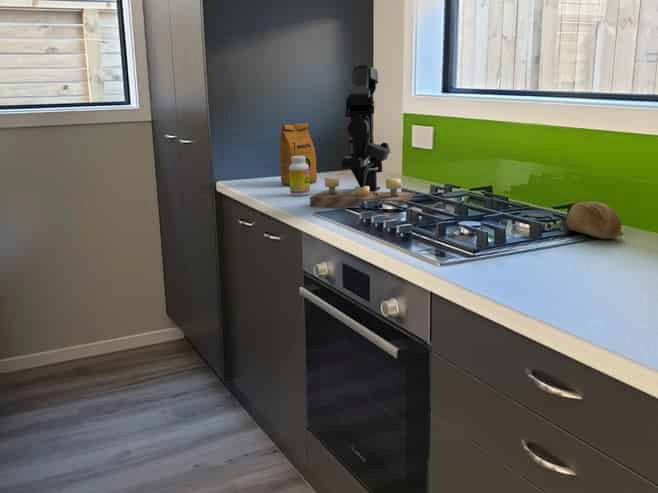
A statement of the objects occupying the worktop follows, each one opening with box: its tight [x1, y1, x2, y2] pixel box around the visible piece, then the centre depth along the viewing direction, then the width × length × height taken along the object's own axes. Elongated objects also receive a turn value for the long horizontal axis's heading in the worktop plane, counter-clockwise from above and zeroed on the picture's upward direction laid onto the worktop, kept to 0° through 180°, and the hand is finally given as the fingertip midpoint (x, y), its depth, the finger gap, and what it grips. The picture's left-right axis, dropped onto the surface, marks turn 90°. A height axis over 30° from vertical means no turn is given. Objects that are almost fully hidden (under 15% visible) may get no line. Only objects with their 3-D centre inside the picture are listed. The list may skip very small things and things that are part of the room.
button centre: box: [354, 185, 370, 196], centre depth 210 cm, size 4×4×5 cm
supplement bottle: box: [289, 156, 311, 197], centre depth 231 cm, size 7×7×13 cm
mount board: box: [309, 189, 417, 209], centre depth 211 cm, size 30×12×3 cm, turn 67°
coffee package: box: [278, 122, 318, 186], centre depth 251 cm, size 10×12×22 cm
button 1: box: [324, 176, 340, 195], centre depth 214 cm, size 4×4×5 cm
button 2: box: [385, 178, 402, 197], centre depth 206 cm, size 4×4×5 cm
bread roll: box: [565, 201, 622, 240], centre depth 163 cm, size 10×15×8 cm, turn 19°
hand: (362, 187), depth 210 cm, fingers closed, pressing on button centre
